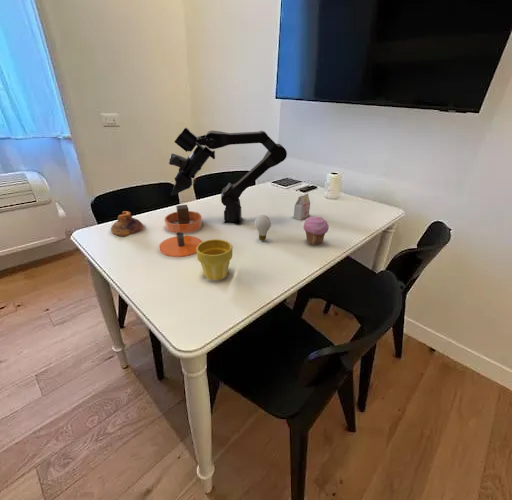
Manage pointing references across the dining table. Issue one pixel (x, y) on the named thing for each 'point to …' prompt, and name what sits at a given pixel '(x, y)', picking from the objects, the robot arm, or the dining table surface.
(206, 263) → the flower pot
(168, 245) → the lid
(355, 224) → the dining table surface
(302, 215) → the white milk carton
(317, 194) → the dining table surface
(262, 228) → the light bulb
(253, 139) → the robot arm
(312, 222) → the cupcake
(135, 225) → the bell
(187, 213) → the block
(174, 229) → the pot
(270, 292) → the dining table surface
